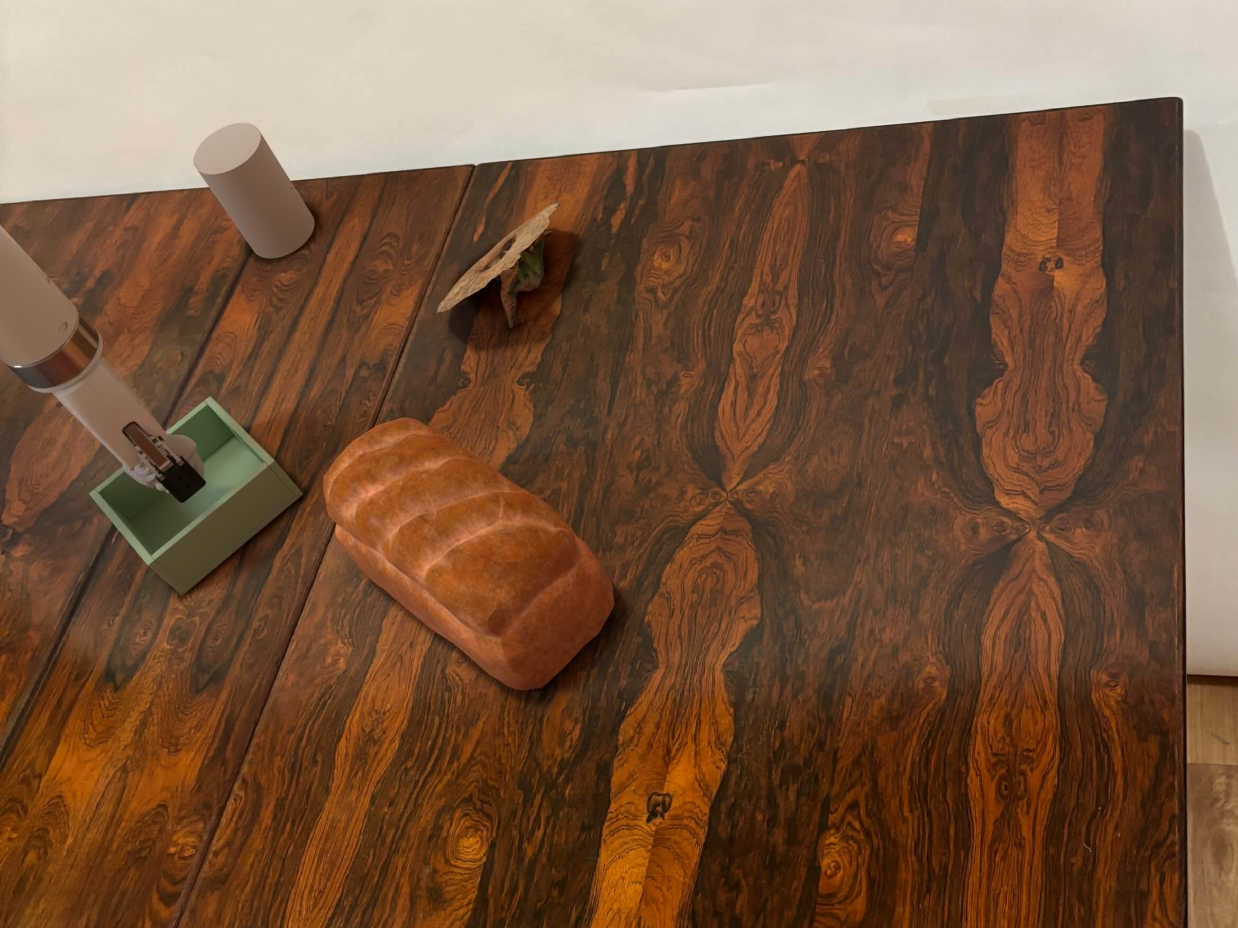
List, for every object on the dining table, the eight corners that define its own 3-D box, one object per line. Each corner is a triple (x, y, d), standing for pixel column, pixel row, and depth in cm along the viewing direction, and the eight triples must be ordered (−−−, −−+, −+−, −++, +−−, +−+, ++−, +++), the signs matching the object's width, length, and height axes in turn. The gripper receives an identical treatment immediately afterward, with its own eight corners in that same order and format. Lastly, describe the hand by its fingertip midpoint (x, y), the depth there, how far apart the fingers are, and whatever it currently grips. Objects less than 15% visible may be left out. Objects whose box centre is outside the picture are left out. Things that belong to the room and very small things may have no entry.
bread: (529, 713, 101) (460, 625, 87) (349, 567, 113) (264, 469, 100) (636, 599, 104) (586, 496, 90) (449, 468, 116) (380, 361, 102)
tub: (182, 595, 116) (147, 565, 111) (123, 525, 123) (88, 493, 118) (303, 494, 119) (274, 460, 114) (239, 430, 125) (209, 395, 120)
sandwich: (493, 298, 135) (459, 236, 131) (600, 256, 129) (568, 189, 125) (439, 372, 122) (399, 306, 118) (555, 329, 116) (517, 258, 112)
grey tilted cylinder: (326, 213, 139) (274, 126, 129) (291, 262, 136) (234, 178, 126) (275, 204, 142) (219, 119, 132) (239, 253, 140) (180, 169, 129)
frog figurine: (154, 478, 119) (109, 435, 113) (216, 450, 119) (175, 404, 113) (161, 521, 116) (116, 479, 110) (225, 492, 116) (183, 448, 110)
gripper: (-21, 331, 104) (110, 456, 119) (58, 423, 95) (187, 545, 111) (48, 279, 105) (168, 409, 120) (131, 365, 97) (249, 494, 112)
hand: (176, 473), depth 115 cm, fingers closed on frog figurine, 6 cm apart
